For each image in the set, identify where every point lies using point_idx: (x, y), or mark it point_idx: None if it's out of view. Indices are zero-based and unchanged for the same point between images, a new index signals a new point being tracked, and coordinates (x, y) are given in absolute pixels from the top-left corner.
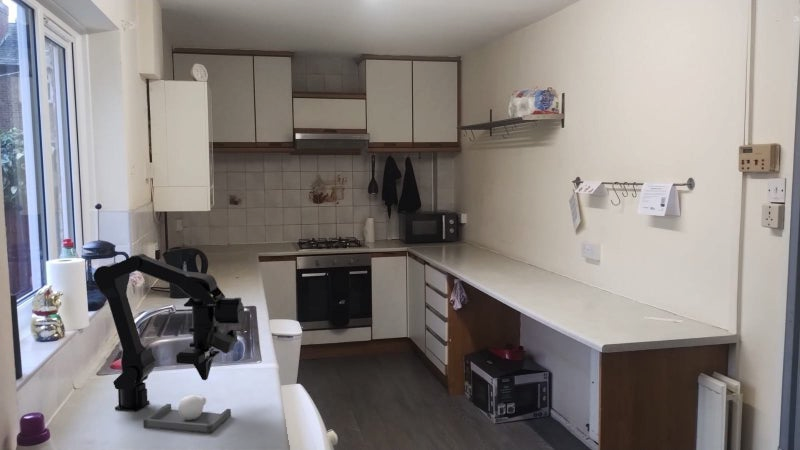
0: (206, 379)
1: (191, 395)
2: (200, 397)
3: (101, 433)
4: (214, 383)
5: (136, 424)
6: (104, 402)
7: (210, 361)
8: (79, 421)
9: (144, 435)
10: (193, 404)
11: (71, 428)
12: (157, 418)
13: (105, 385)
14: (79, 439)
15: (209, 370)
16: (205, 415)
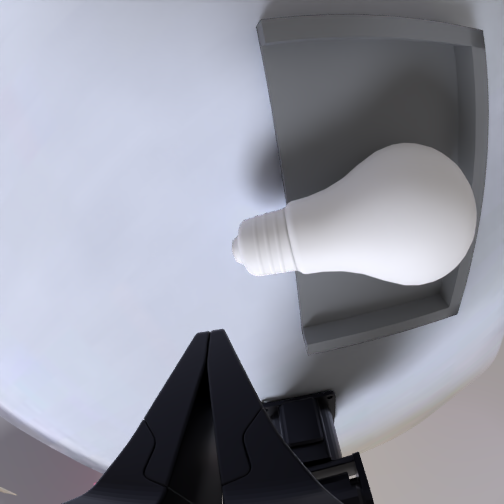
0: (213, 331)
1: (433, 254)
2: (303, 244)
3: (466, 347)
4: (21, 345)
5: (420, 329)
6: None
7: (166, 483)
8: (402, 415)
9: (488, 255)
10: (468, 185)
11: (435, 399)
12: (396, 307)
13: None
14: (486, 353)
15: (171, 388)
16: (321, 150)
